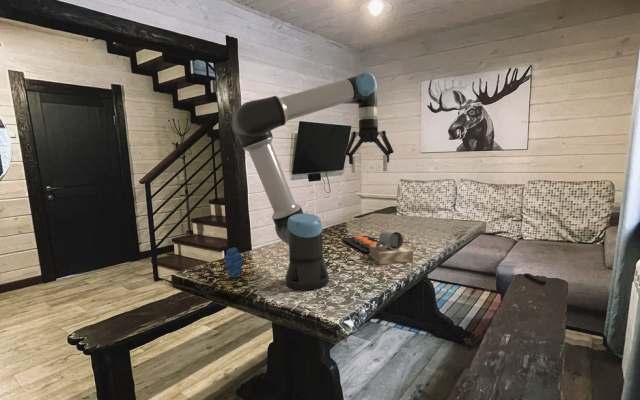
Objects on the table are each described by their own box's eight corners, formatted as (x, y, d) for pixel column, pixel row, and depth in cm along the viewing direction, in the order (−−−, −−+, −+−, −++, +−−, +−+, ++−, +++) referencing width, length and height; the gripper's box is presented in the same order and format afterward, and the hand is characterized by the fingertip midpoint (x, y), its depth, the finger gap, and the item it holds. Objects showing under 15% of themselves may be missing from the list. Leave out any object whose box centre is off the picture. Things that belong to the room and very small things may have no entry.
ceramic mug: (392, 244, 145) (391, 227, 144) (404, 248, 137) (403, 230, 136) (371, 248, 140) (370, 230, 140) (382, 253, 133) (382, 234, 132)
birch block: (379, 265, 132) (379, 253, 132) (370, 256, 146) (369, 245, 146) (413, 263, 134) (413, 251, 133) (400, 253, 148) (400, 242, 147)
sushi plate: (341, 241, 174) (341, 234, 173) (391, 235, 183) (391, 228, 182) (365, 256, 146) (365, 247, 146) (423, 248, 155) (423, 240, 155)
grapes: (253, 279, 122) (250, 247, 120) (236, 284, 117) (233, 251, 116) (238, 271, 130) (235, 242, 129) (221, 276, 126) (219, 245, 125)
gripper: (393, 119, 139) (394, 170, 142) (335, 120, 135) (337, 172, 138) (401, 117, 132) (401, 170, 135) (340, 118, 128) (341, 173, 131)
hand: (369, 171), depth 136 cm, fingers open, 13 cm apart
